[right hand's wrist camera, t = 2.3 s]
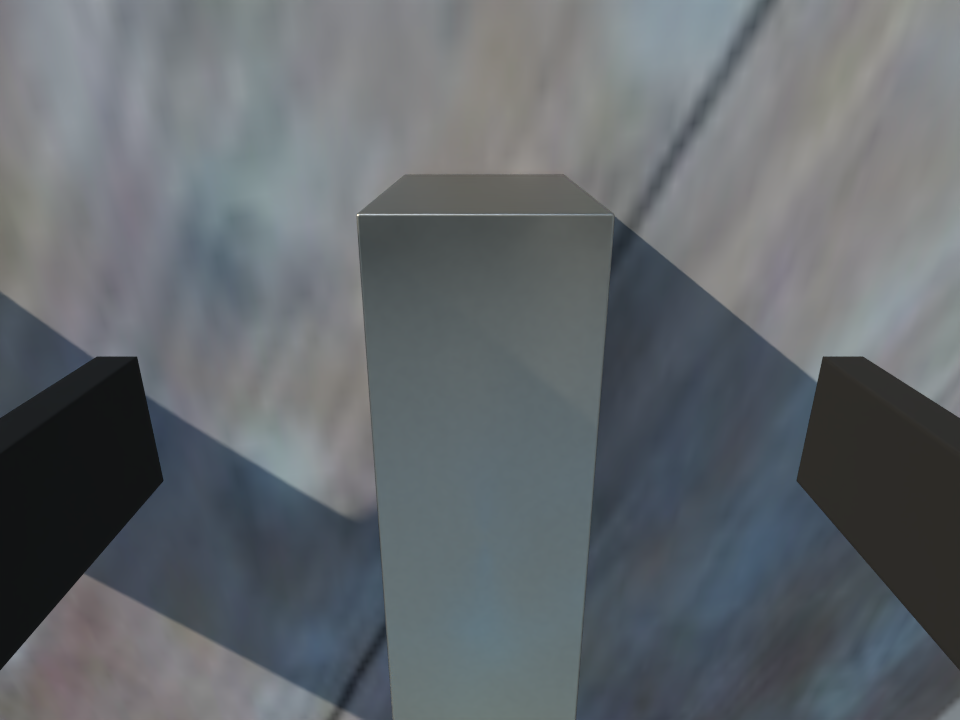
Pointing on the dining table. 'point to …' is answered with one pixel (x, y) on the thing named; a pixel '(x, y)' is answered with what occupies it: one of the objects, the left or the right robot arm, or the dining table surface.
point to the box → (484, 435)
